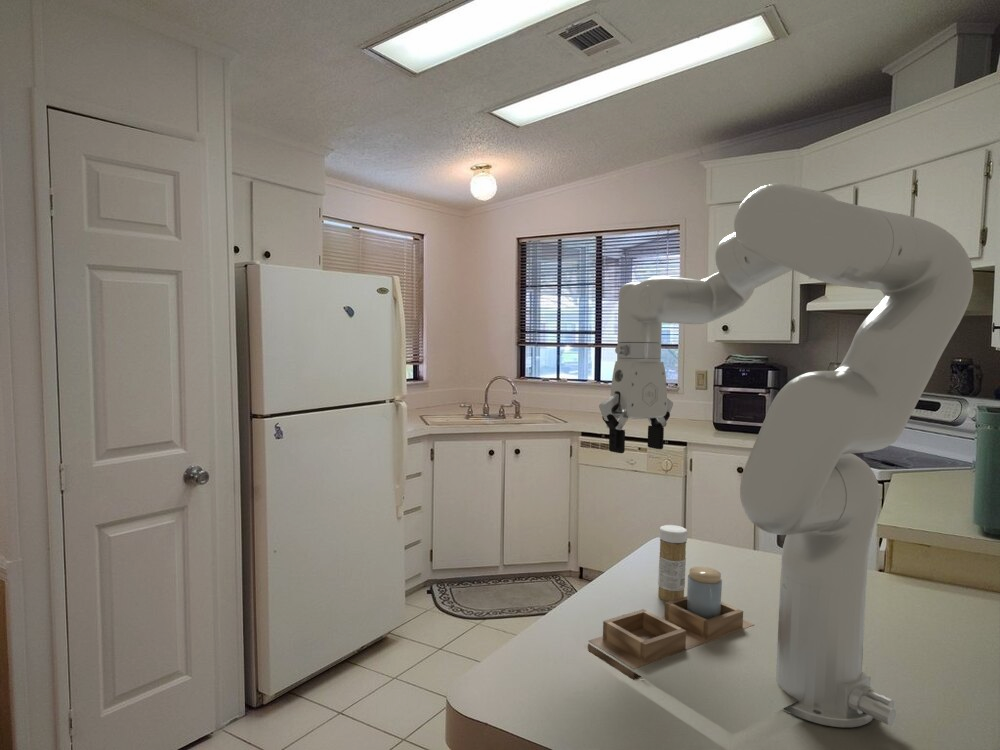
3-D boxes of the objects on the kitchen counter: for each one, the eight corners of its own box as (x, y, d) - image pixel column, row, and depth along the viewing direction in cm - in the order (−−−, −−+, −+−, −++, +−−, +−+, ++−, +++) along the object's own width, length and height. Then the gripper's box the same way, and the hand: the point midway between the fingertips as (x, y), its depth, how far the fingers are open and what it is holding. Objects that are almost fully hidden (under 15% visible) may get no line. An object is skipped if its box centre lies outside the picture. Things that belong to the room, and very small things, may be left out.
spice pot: (727, 625, 94) (729, 574, 94) (705, 632, 91) (707, 580, 91) (700, 613, 98) (702, 564, 98) (679, 620, 95) (681, 569, 95)
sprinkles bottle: (667, 597, 108) (670, 522, 107) (689, 606, 104) (692, 528, 104) (651, 604, 105) (654, 526, 104) (674, 613, 101) (677, 533, 101)
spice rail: (754, 634, 95) (755, 608, 94) (633, 679, 80) (634, 650, 80) (706, 612, 102) (707, 588, 102) (588, 650, 88) (588, 623, 88)
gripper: (618, 352, 99) (616, 457, 100) (688, 354, 109) (685, 449, 110) (587, 352, 106) (585, 450, 106) (656, 354, 115) (653, 444, 116)
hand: (636, 450), depth 108 cm, fingers open, 9 cm apart
